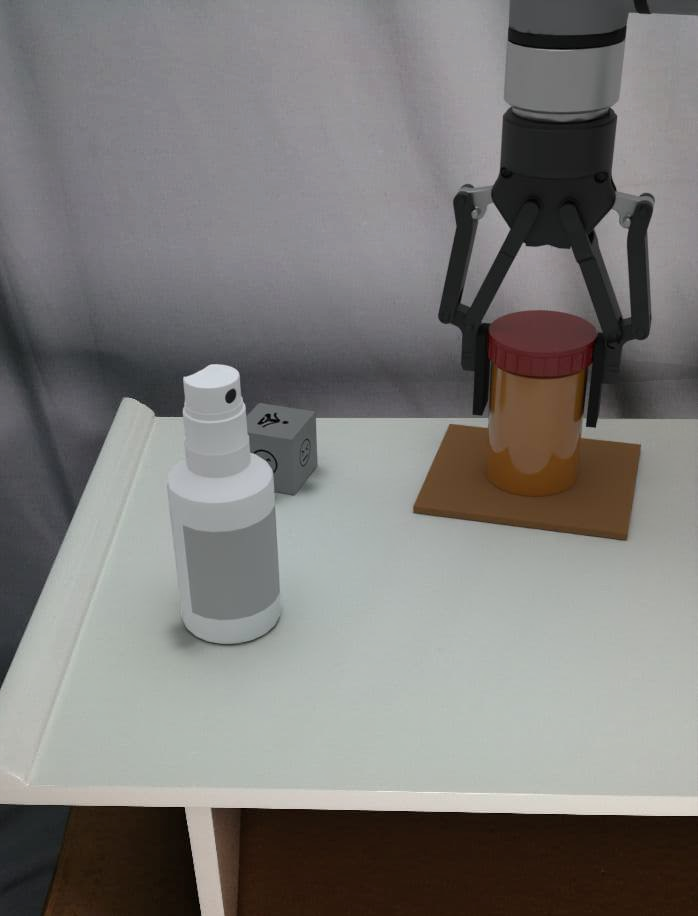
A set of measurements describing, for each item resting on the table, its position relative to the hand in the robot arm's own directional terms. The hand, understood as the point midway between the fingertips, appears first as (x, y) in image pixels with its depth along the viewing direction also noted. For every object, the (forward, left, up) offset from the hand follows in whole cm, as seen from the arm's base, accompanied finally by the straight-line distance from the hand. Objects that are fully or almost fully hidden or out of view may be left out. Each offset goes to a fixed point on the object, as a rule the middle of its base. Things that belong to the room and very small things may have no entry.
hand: (535, 413), depth 91 cm
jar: (0, 0, -5) cm, 5 cm away
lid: (0, 0, +6) cm, 6 cm away
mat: (0, 0, -6) cm, 6 cm away
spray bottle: (+17, +23, -6) cm, 29 cm away
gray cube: (+20, +4, -6) cm, 21 cm away
